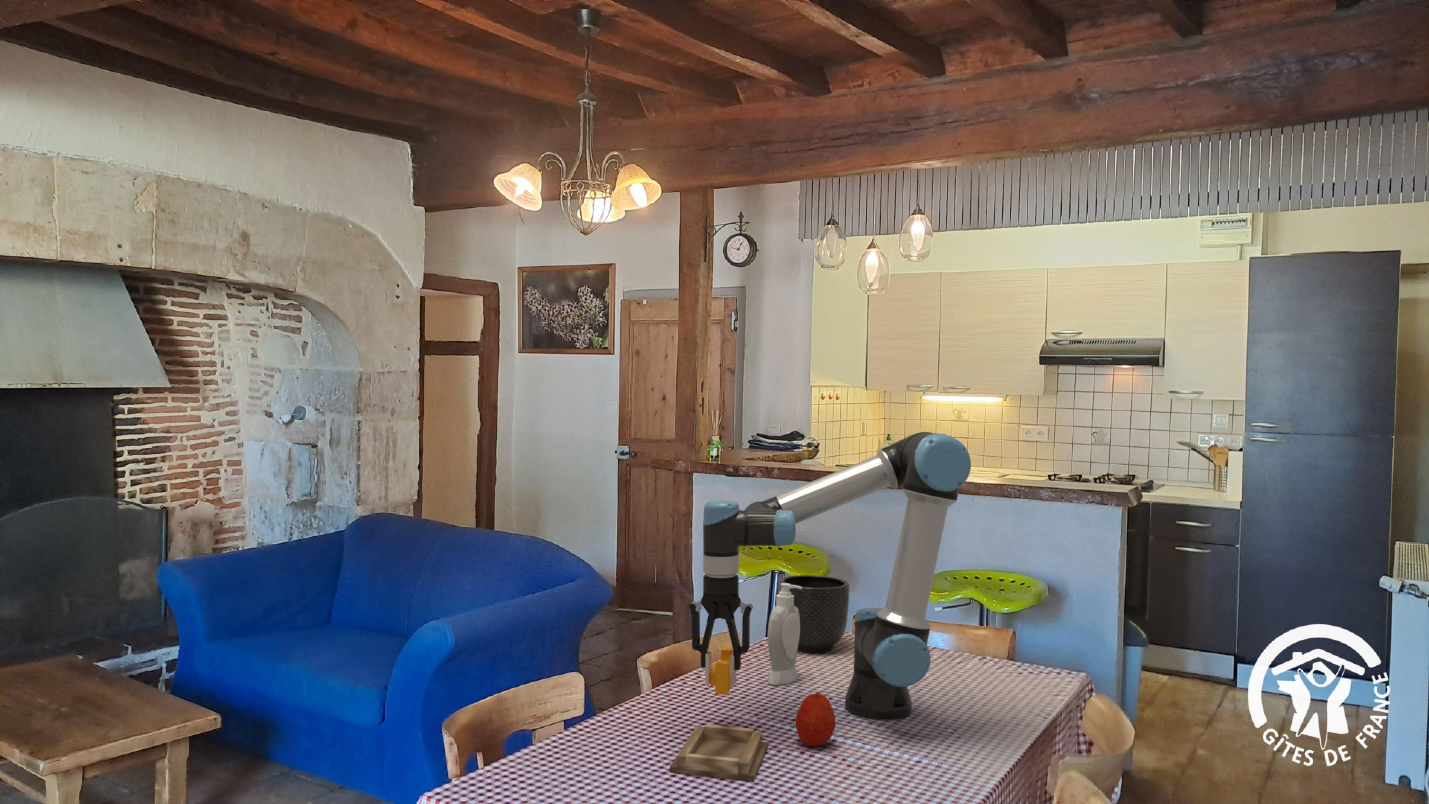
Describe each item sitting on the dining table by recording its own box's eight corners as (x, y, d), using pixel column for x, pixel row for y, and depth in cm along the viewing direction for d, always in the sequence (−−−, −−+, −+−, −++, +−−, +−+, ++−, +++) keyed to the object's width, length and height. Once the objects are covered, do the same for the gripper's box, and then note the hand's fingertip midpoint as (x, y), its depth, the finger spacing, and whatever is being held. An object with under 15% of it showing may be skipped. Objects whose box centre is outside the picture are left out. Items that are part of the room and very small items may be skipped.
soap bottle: (783, 691, 234) (786, 590, 234) (758, 684, 239) (761, 585, 239) (814, 680, 244) (817, 583, 244) (789, 673, 249) (792, 578, 249)
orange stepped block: (713, 676, 212) (713, 647, 212) (733, 677, 211) (733, 648, 211) (706, 694, 200) (706, 662, 200) (727, 694, 199) (727, 663, 199)
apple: (824, 754, 194) (825, 700, 193) (787, 745, 198) (788, 693, 198) (841, 742, 201) (842, 690, 200) (805, 734, 205) (806, 683, 205)
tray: (767, 747, 197) (768, 730, 197) (753, 781, 179) (754, 763, 179) (691, 739, 200) (691, 722, 200) (669, 772, 182) (670, 754, 182)
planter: (774, 655, 266) (776, 585, 266) (781, 637, 286) (782, 573, 285) (846, 660, 263) (848, 590, 263) (848, 642, 282) (850, 577, 282)
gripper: (764, 572, 207) (764, 681, 208) (684, 569, 211) (684, 676, 211) (759, 579, 200) (759, 692, 200) (676, 575, 204) (676, 686, 204)
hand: (720, 683), depth 206 cm, fingers closed on orange stepped block, 5 cm apart
